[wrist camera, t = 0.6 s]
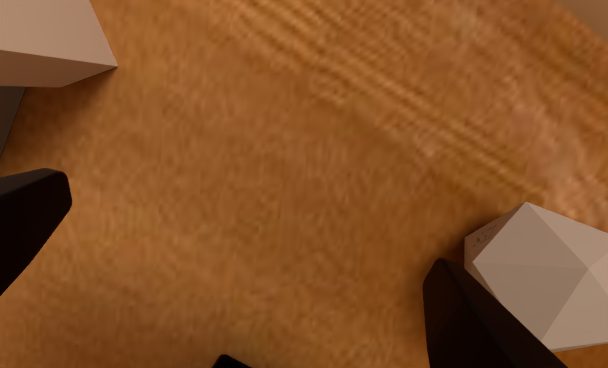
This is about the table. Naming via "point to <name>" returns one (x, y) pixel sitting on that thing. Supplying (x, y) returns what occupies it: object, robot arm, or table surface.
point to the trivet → (8, 109)
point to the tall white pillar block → (51, 43)
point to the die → (545, 274)
